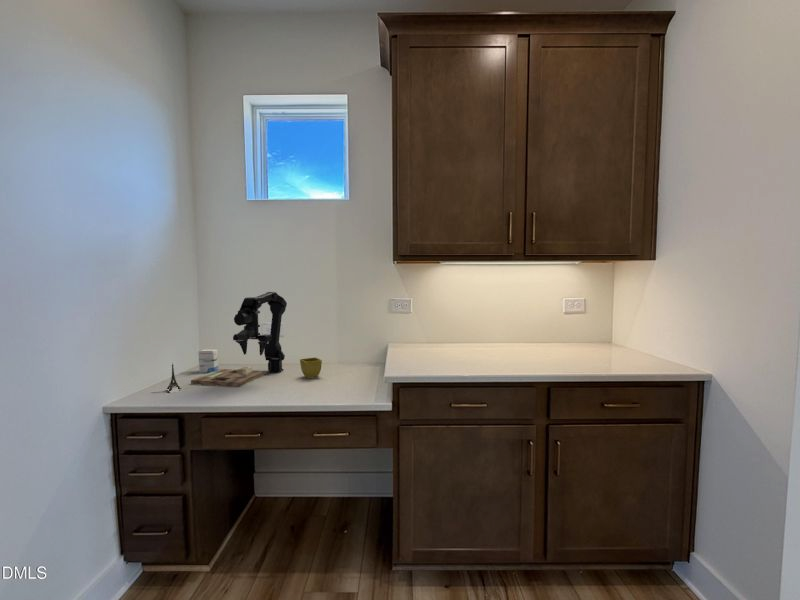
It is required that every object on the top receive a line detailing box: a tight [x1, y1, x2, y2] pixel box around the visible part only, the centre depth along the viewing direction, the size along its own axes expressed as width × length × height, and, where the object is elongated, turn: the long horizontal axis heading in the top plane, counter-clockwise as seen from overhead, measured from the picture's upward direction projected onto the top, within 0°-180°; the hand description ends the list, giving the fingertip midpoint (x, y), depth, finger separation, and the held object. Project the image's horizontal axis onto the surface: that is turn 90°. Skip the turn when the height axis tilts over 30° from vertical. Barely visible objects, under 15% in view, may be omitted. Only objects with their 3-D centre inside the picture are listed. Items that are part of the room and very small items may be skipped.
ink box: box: [197, 349, 219, 373], centre depth 225 cm, size 8×5×12 cm, turn 84°
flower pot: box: [299, 356, 323, 379], centre depth 211 cm, size 9×9×9 cm
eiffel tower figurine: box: [166, 362, 182, 391], centre depth 190 cm, size 15×10×13 cm
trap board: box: [190, 368, 266, 387], centre depth 208 cm, size 26×23×2 cm
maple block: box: [236, 366, 253, 377], centre depth 206 cm, size 5×5×4 cm
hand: (252, 354), depth 203 cm, fingers open, 9 cm apart
